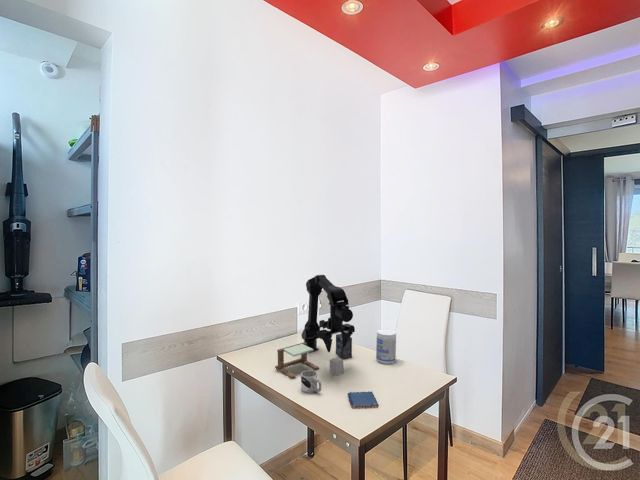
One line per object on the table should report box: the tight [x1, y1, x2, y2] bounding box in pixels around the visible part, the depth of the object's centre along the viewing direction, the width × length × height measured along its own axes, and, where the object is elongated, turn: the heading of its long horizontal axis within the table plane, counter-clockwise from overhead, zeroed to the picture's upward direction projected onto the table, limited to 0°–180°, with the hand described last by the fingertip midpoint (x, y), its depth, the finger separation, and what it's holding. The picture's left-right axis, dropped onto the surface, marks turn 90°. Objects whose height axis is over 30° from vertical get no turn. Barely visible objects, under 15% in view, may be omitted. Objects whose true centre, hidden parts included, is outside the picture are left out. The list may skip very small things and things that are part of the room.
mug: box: [300, 369, 322, 394], centre depth 136 cm, size 10×7×7 cm, turn 47°
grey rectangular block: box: [329, 356, 344, 376], centre depth 152 cm, size 4×4×6 cm
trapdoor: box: [283, 343, 314, 357], centre depth 155 cm, size 9×11×1 cm
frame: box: [274, 341, 320, 380], centre depth 156 cm, size 14×16×10 cm
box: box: [335, 333, 353, 360], centre depth 172 cm, size 8×6×11 cm
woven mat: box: [347, 390, 380, 410], centre depth 127 cm, size 10×11×2 cm
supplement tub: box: [375, 328, 397, 365], centre depth 165 cm, size 10×10×15 cm
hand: (336, 349), depth 152 cm, fingers open, 9 cm apart
